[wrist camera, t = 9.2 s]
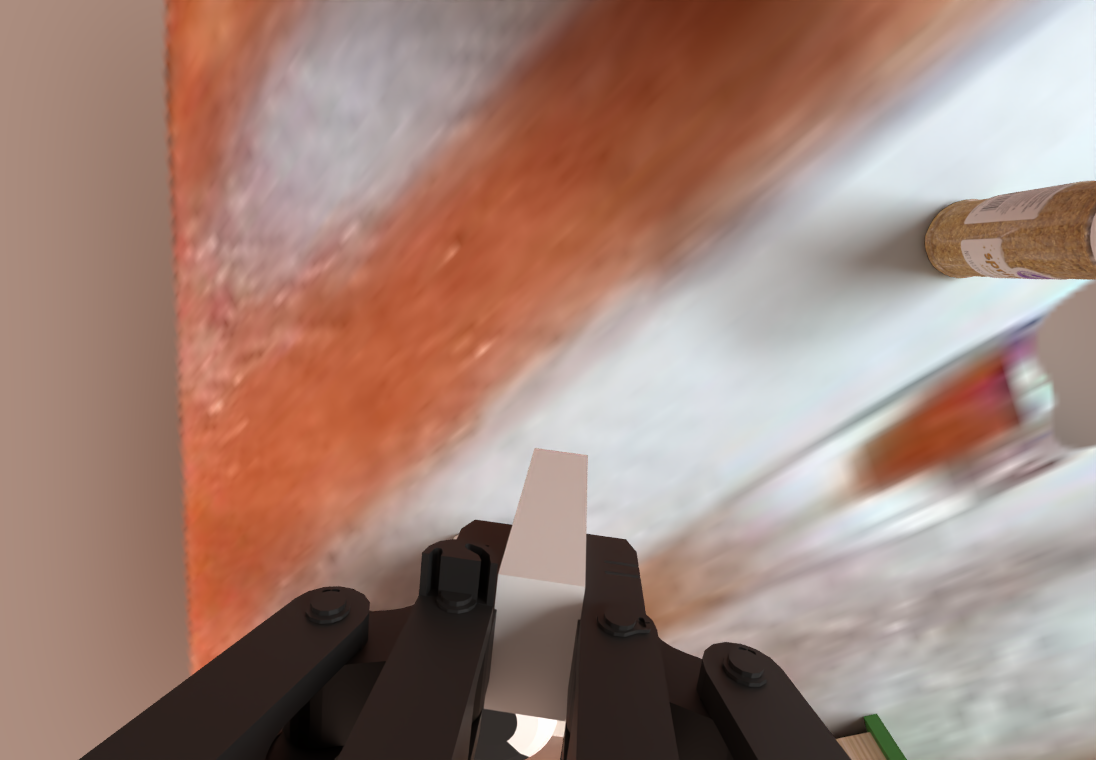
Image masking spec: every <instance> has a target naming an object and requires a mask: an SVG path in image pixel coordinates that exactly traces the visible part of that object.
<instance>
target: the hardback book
mask: <svg viewBox="0 0 1096 760" xmlns="http://www.w3.org/2000/svg"><path fill="white" fill-rule="evenodd" d="M864 721H865V725H866V729H867V733H862V734H857V735H853V736H848V737H843V738H838V739H836V740H837V742H838V743H839V744H840V745H841V747H842V748H843V749H844V751H845V752H846V753H847V755H848V756H849V757H850V758H851V760H907V759H906V758H905V756H904V755H903V753H902V752H901V750H900V749H899V747H898V746H897V744H896V742H895V741H894V739H893V738H892V736H891V735H890V733H889V732H888V730H887V729H886V727H885V726H884V724H883V722H882V721H881V719H880V718H879V716H878V715H877V714H873V715H869V716H864Z"/></svg>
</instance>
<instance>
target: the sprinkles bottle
mask: <svg viewBox="0 0 1096 760" xmlns="http://www.w3.org/2000/svg"><path fill="white" fill-rule="evenodd" d="M925 248H926V252H927V254H928V258H929V260H930V262H931V263H932V265H933V266H934V267H935V268H936V269H937V270H939V271H940V272H942V273H943V274H945V275H948V276H950V277H956V278H967V277H972V276H981V277H993V278H1023V279H1060V280H1062V279H1096V181H1082V182H1076V183H1070V184H1064V185H1058V186H1052V187H1046V188H1040V189H1034V190H1028V191H1021V192H1015V193H1009V194H1004V195H998V196H995V197H992V198H989V199H983V200H978V199H970V200H963V201H959V202H955V203H953V204H951V205H949V206H948V207H946V208H944V209H943V210H942V211H941V212H939V213H938V215H937V216H936V217H935V218H934V219H933V221H932V222H931V224H930V226H929V228H928V231H927V233H926V236H925Z"/></svg>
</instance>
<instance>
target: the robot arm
mask: <svg viewBox="0 0 1096 760" xmlns="http://www.w3.org/2000/svg"><path fill="white" fill-rule="evenodd" d="M587 463H588V455H581V454H574V453H567V452H559V451H552V450H545V449H537V448H535V449H534V452H533V456H532V459H531V463H530V466H529V470H528V473H527V477H526V480H525V484H524V487H523V490H522V494H521V497H520V501H519V504H518V508H517V511H516V515H515V518H514V521H513V525H509V524H502V523H495V522H488V521H481V520H474V521H472V522H471V523H469V524H468V525H466V526H465V527H463V528H462V529H461V531H460V533H459V535H458V537H457V539H451V540H445V541H440V542H437V543H435V544H433V545H430V546H429V547H428V548H427V549H426V550H425V551H424V552H423V553H422V563H421V576H420V589H419V596H418V598H417V600H416V602H415V604H414V605H412V606H409V607H406V608H402V609H395V610H386V611H371V612H369V607H370V602H369V601H368V599H367V598H366V597H365V595H364V594H362V593H360V592H358V591H356V590H354V589H351V588H345V587H323V588H319V589H315V590H312V591H308V592H306V593H304V594H302V595H301V596H299V597H297V598H295V599H294V600H292V601H291V602H290V603H288V604H287V605H286V606H284V607H283V608H282V609H280V610H279V611H278V612H276V613H275V614H274V615H272V616H271V617H270V618H268V619H267V620H266V621H264V622H263V623H262V624H260V625H259V626H258V627H256V628H255V629H254V630H252V631H251V632H249V633H248V634H247V635H245V636H244V637H243V638H241V639H240V640H239V641H237V642H236V643H235V644H233V645H232V646H231V647H229V648H228V649H227V650H225V651H224V652H223V653H221V654H220V655H219V656H217V657H216V658H215V659H213V660H212V661H211V662H209V663H208V664H207V665H205V666H204V667H202V668H201V669H200V670H198V671H197V672H196V673H194V674H193V675H192V676H190V677H189V678H188V679H186V680H185V681H184V682H182V683H181V684H180V685H178V686H177V687H176V688H174V689H173V690H172V691H170V692H169V693H168V694H166V695H165V696H164V697H162V698H161V699H160V700H158V701H157V702H156V703H154V704H153V705H152V706H150V707H149V708H148V709H146V710H145V711H143V712H142V713H141V714H139V715H138V716H137V717H136V718H134V719H133V720H131V721H130V722H129V723H127V724H126V725H125V726H123V727H122V728H121V729H119V730H118V731H117V732H115V733H114V734H113V735H111V736H110V737H109V738H107V739H106V740H104V741H103V742H102V743H100V744H99V745H98V746H97V747H95V748H94V749H93V750H91V751H90V752H88V753H87V754H86V755H84V756H83V757H82V758H80V759H79V760H474V755H475V751H476V747H477V742H478V738H479V734H480V726H481V716H482V708H483V703H484V709H489V710H495V711H502V712H508V713H514V714H521V715H527V716H534V717H540V718H546V719H553V720H559V721H565V722H566V724H565V731H564V738H563V744H562V751H561V758H560V760H851V758H850V757H849V756H848V755H847V753H846V752H845V751H844V749H843V748H842V747H841V745H840V744H839V743H838V742H837V740H836V739H835V738H834V736H833V735H832V734H831V732H830V731H829V730H828V728H827V727H826V726H825V725H824V723H823V722H822V721H821V719H820V718H819V717H818V715H817V714H816V713H815V712H814V710H813V709H812V708H811V706H810V705H809V704H808V702H807V701H806V700H805V698H804V697H803V696H802V695H801V693H800V692H799V691H798V689H797V688H796V687H795V685H794V684H793V683H792V682H791V680H790V679H789V678H788V676H787V675H786V674H785V672H784V671H783V670H782V669H781V668H780V667H779V666H778V665H777V664H776V663H775V662H774V661H773V660H772V659H771V658H770V657H768V656H766V655H765V654H763V653H761V652H760V651H758V650H756V649H754V648H751V647H748V646H746V645H742V644H737V643H729V642H723V643H718V644H713V645H711V646H710V647H709V648H707V649H706V650H705V651H704V655H703V658H702V659H700V658H698V657H695V656H692V655H690V654H687V653H684V652H682V651H680V650H678V649H675V648H673V647H671V646H670V645H668V644H667V643H665V642H664V641H662V640H661V639H660V638H659V637H658V633H657V629H656V627H655V625H654V622H653V620H651V619H650V618H649V617H648V616H647V615H646V612H645V605H644V599H643V592H642V586H641V579H640V572H639V568H638V559H637V552H636V551H635V550H634V549H633V547H632V546H631V545H630V544H629V543H628V541H627V540H626V539H619V538H612V537H605V536H598V535H591V534H586V517H587ZM484 699H485V701H484Z"/></svg>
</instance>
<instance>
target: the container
mask: <svg viewBox="0 0 1096 760" xmlns="http://www.w3.org/2000/svg"><path fill="white" fill-rule="evenodd" d="M457 537H458V535H456V536H455V537H454V538H453V539H457ZM484 701H485V699H484ZM556 724H557V720H553V719H546V718H540V717H534V716H527V715H521V714H514V713H508V712H502V711H495V710H489V709H484V703H483V708H482V716H481V726H480V734H479V738H478V742H477V747H476V751H475V755H474V760H525V759H527V758H529V757H530V756H532V755H534V754H535V753H537V752H538V751H539V750H541V749H542V748H543V747H544V746H545V745H546V743H547V742H548V741H549V739H550V738H551V736H552V734H553V732H554V730H555V727H556Z"/></svg>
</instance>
